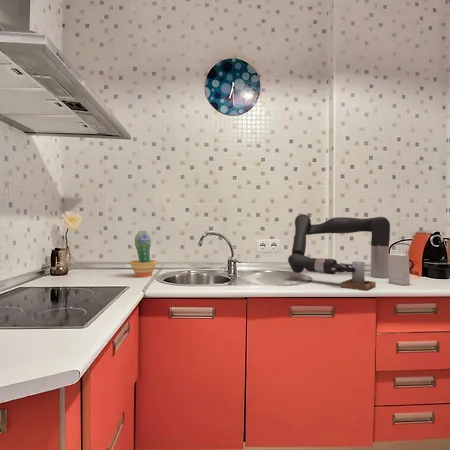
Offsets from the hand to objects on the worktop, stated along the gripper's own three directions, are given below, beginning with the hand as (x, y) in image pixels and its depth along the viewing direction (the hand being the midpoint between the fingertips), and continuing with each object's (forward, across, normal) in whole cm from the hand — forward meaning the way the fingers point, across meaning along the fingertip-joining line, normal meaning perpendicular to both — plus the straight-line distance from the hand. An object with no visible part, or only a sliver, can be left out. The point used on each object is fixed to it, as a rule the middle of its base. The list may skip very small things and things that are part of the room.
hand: (358, 269), depth 176 cm
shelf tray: (0, 0, +8) cm, 8 cm away
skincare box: (+12, +22, +9) cm, 27 cm away
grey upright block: (0, 0, +8) cm, 8 cm away
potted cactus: (-102, -46, +9) cm, 112 cm away
